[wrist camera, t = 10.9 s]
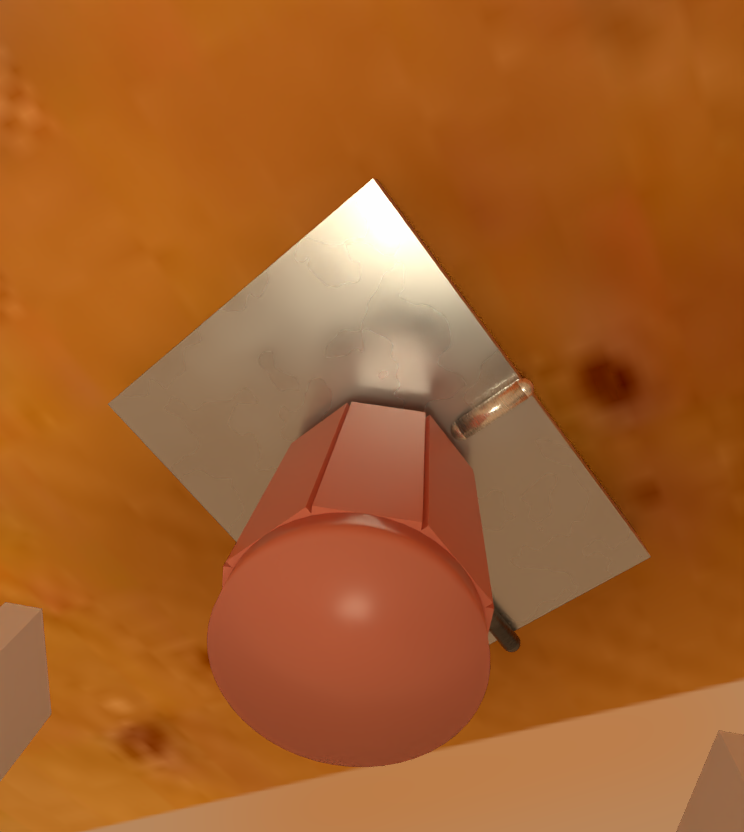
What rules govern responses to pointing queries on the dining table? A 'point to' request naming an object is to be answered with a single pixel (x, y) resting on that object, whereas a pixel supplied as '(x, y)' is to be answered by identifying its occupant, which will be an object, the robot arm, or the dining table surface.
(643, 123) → the dining table surface
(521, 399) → the plate
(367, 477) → the wire nut
